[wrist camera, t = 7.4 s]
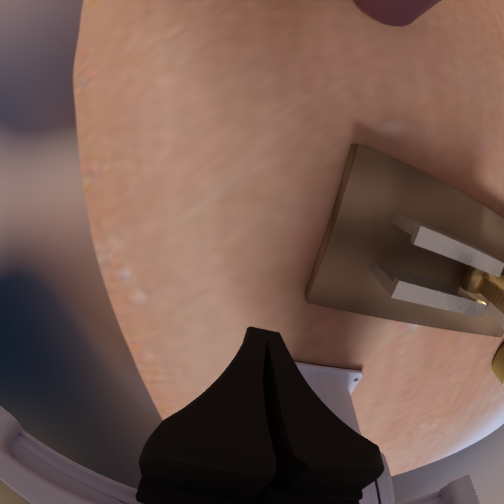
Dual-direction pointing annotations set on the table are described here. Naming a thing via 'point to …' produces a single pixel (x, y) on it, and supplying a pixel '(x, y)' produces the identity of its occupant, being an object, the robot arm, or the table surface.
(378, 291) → the base board
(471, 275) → the sliding latch bolt
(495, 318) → the socket block
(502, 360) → the brown tall cylinder
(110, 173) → the table surface
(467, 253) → the sleeve
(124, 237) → the table surface
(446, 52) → the table surface
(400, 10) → the beverage can
